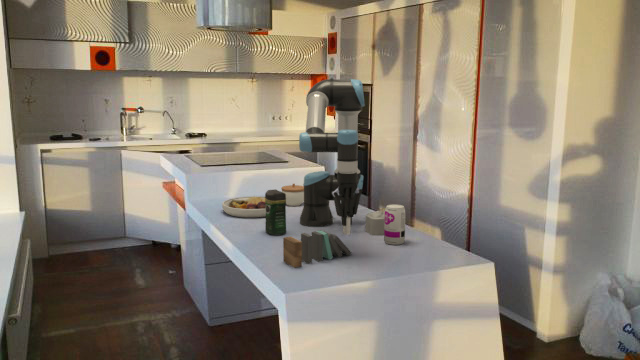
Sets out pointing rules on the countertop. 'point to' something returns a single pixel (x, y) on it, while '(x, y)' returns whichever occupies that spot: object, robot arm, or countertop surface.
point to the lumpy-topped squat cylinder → (375, 223)
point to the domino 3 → (326, 246)
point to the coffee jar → (275, 212)
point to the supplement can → (394, 224)
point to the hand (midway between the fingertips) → (346, 233)
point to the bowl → (245, 207)
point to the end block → (292, 251)
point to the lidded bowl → (293, 194)
